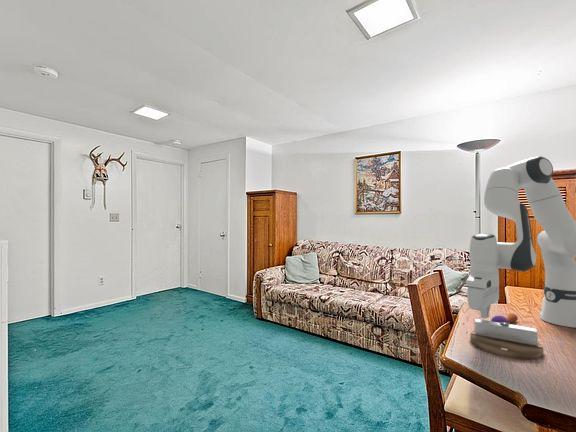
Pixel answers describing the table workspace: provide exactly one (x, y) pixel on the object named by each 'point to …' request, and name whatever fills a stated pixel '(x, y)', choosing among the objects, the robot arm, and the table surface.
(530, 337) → the bar
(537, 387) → the table surface
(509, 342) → the lock plate
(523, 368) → the table surface
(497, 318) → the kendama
